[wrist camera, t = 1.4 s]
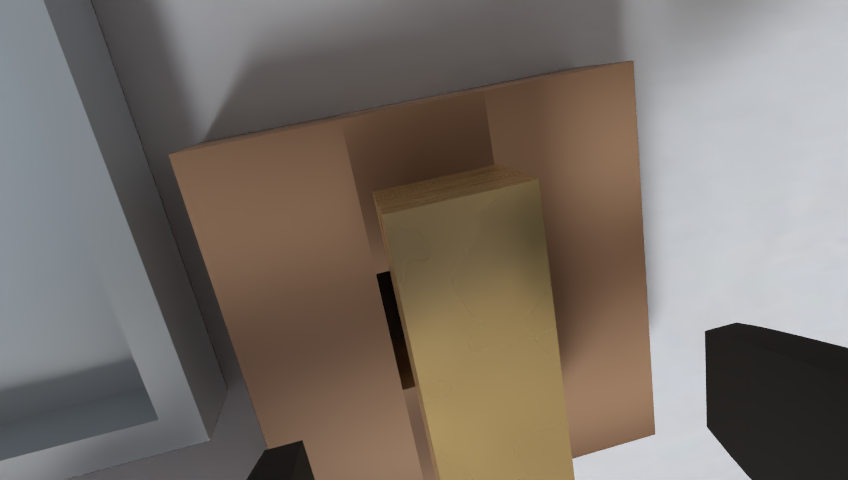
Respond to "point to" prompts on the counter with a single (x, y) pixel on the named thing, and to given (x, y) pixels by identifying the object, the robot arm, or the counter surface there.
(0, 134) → the tray
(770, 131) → the counter surface
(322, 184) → the slot block
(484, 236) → the t key
